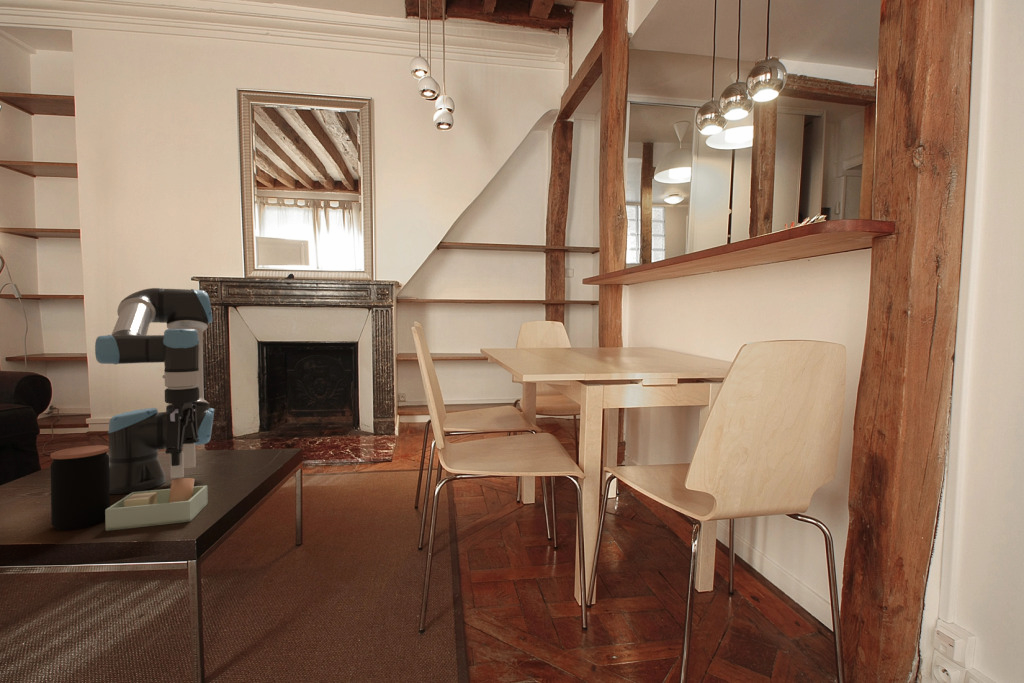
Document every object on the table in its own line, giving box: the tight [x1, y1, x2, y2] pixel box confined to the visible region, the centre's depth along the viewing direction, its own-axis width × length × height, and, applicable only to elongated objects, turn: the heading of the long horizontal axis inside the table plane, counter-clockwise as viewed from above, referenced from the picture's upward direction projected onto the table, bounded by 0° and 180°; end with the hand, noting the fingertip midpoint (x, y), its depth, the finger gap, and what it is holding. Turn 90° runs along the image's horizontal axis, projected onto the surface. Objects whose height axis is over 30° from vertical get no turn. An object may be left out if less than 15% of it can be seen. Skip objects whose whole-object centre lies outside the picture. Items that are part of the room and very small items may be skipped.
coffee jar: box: [50, 444, 111, 531], centre depth 115 cm, size 11×11×18 cm
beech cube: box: [124, 492, 157, 507], centre depth 117 cm, size 5×5×5 cm
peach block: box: [169, 477, 195, 503], centre depth 121 cm, size 5×5×7 cm
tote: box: [104, 485, 209, 532], centre depth 118 cm, size 13×17×5 cm
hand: (183, 471), depth 124 cm, fingers open, 8 cm apart
